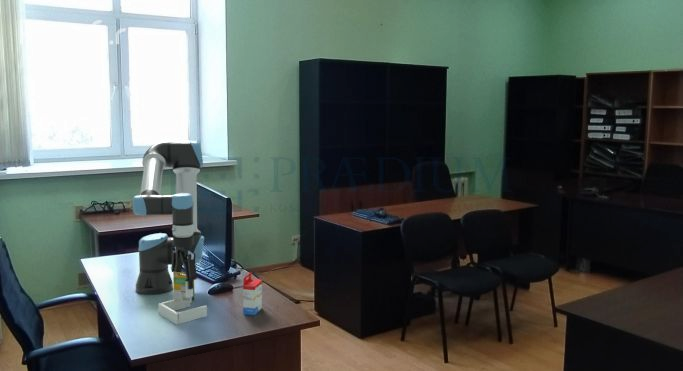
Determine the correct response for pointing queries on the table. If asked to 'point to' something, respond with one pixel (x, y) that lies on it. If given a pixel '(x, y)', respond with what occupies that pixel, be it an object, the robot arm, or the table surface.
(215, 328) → the table surface
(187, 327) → the table surface
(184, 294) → the crayon box
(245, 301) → the ink box
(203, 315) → the tray
